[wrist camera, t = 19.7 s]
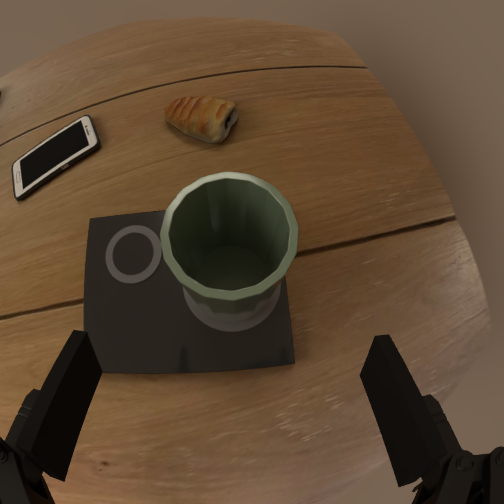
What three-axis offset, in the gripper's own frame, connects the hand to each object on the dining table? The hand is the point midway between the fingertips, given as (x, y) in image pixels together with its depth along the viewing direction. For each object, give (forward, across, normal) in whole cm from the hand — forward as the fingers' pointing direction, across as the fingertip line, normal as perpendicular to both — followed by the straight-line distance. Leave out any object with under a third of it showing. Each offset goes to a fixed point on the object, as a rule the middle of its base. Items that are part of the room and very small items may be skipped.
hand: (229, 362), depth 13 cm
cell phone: (+28, -26, +6) cm, 39 cm away
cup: (+14, 0, -5) cm, 15 cm away
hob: (+15, -5, -6) cm, 17 cm away
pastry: (+31, -4, +8) cm, 32 cm away
